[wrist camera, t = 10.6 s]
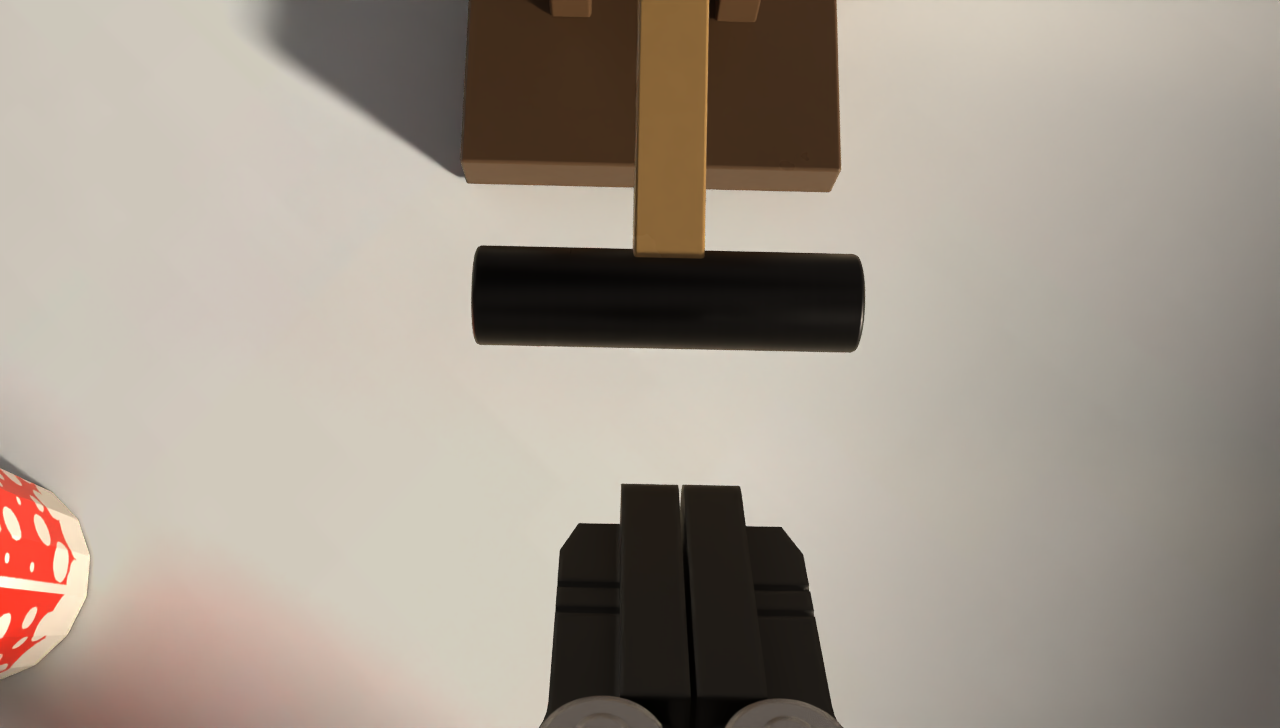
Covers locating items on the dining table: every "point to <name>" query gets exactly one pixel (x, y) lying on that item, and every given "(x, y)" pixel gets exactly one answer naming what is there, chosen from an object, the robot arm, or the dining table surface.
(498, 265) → the wooden lever handle
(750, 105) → the lever base
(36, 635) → the beverage cup
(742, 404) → the dining table surface
